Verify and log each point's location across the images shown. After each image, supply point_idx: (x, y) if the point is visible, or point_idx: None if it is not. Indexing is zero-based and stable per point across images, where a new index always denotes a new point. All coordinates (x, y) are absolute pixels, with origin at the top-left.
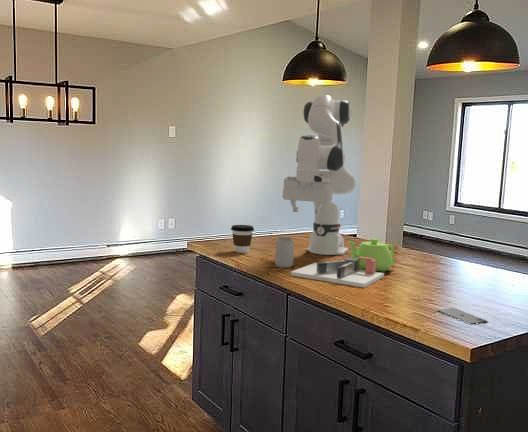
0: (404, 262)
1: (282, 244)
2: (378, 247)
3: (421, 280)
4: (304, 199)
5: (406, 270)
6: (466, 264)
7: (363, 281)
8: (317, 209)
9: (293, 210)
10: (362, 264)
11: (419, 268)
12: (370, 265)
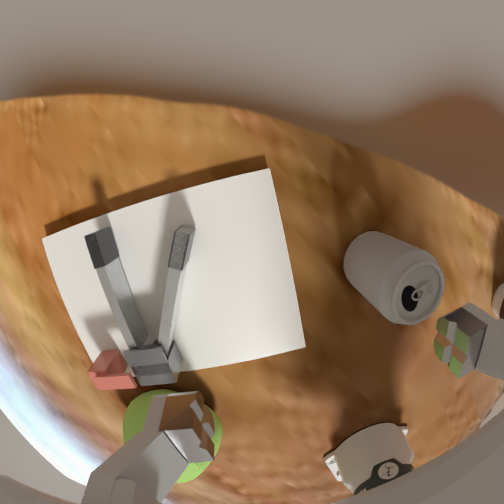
0: (195, 482)
1: (402, 253)
2: None
3: (60, 391)
4: (427, 488)
5: None
6: None
7: (55, 257)
8: (151, 428)
9: (469, 306)
10: (161, 393)
11: None
12: (99, 363)
